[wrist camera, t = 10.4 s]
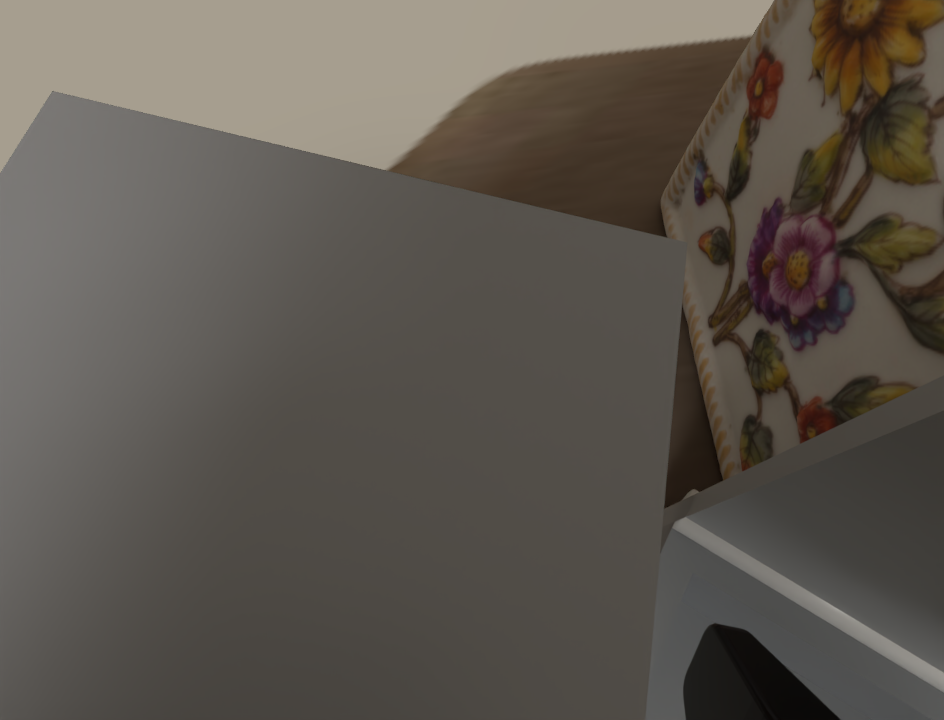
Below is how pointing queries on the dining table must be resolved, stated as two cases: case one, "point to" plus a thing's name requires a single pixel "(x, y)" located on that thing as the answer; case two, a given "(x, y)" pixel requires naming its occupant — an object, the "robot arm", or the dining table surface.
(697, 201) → the decorative jar
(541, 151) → the dining table surface
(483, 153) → the dining table surface
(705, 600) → the case
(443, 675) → the block
